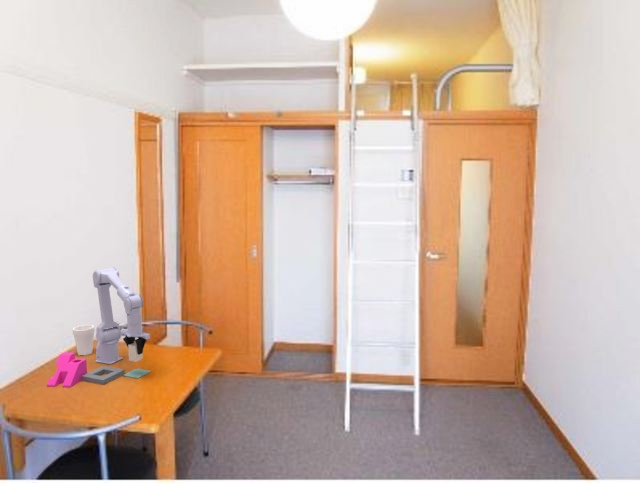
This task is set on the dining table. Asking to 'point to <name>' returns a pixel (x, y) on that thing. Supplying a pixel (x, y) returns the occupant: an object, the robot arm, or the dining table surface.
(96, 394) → the dining table surface
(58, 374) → the bracket
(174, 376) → the dining table surface
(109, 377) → the pocket board
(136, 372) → the pad
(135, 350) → the block
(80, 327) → the foam cup
